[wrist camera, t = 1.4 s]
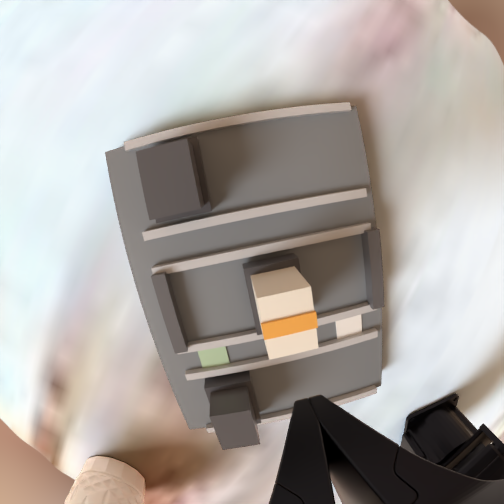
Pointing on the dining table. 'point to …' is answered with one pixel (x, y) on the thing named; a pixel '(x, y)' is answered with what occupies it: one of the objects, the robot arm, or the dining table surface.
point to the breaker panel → (253, 258)
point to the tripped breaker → (281, 305)
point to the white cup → (107, 483)
